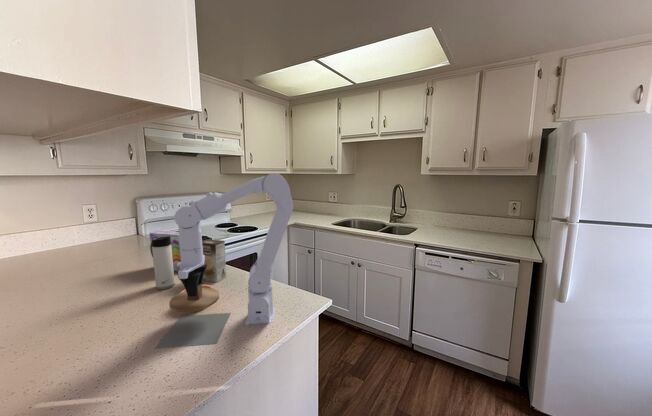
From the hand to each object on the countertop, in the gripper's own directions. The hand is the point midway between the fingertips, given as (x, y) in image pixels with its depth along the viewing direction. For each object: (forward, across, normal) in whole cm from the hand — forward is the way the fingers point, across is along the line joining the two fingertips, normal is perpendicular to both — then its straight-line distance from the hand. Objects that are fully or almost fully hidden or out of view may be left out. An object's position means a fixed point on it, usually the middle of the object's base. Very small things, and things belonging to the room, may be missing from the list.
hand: (194, 292), depth 76 cm
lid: (+2, 0, 0) cm, 2 cm away
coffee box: (+10, -34, -5) cm, 36 cm away
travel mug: (+10, -28, -21) cm, 37 cm away
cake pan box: (+10, -48, -28) cm, 57 cm away
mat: (+9, +4, +1) cm, 10 cm away
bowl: (+9, -11, -4) cm, 15 cm away
